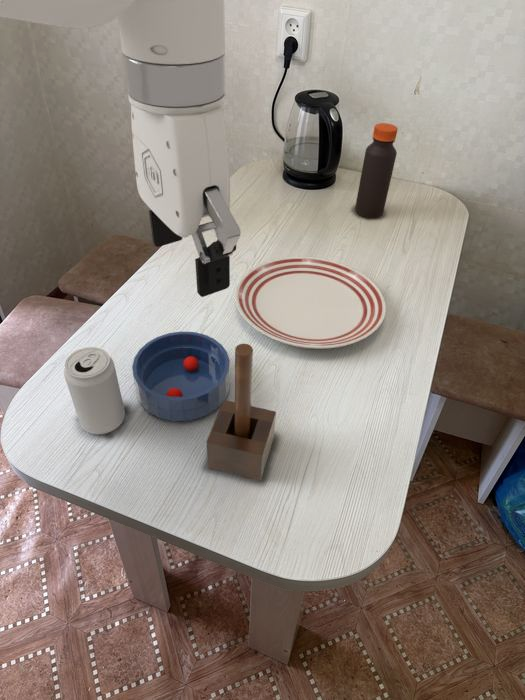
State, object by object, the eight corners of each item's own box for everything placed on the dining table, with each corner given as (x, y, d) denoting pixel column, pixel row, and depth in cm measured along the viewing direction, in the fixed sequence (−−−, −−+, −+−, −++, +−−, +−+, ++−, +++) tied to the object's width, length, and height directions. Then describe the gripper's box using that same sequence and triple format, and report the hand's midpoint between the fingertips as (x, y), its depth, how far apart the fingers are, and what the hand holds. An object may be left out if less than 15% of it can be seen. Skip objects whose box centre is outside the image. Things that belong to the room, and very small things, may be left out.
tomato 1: (164, 405, 75) (162, 394, 73) (170, 393, 77) (169, 383, 75) (179, 409, 74) (178, 398, 73) (185, 397, 76) (184, 386, 75)
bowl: (121, 412, 75) (115, 387, 71) (159, 348, 85) (155, 323, 81) (212, 434, 72) (211, 409, 69) (240, 366, 82) (240, 341, 79)
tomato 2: (181, 372, 80) (180, 362, 78) (187, 362, 81) (186, 351, 80) (196, 375, 79) (195, 365, 78) (201, 365, 81) (200, 354, 79)
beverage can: (71, 428, 72) (50, 370, 64) (98, 397, 76) (81, 339, 68) (109, 443, 71) (93, 385, 62) (134, 410, 75) (122, 352, 67)
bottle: (350, 213, 121) (365, 128, 107) (361, 202, 125) (377, 119, 111) (376, 222, 118) (395, 135, 105) (387, 210, 123) (406, 126, 109)
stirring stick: (232, 456, 70) (232, 353, 56) (236, 445, 71) (238, 341, 57) (246, 460, 69) (250, 357, 56) (250, 448, 71) (254, 345, 57)
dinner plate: (263, 255, 106) (264, 241, 104) (393, 285, 100) (397, 271, 98) (210, 336, 87) (210, 322, 85) (366, 379, 81) (370, 365, 79)
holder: (207, 468, 68) (206, 442, 64) (224, 426, 74) (223, 399, 69) (260, 481, 67) (262, 455, 63) (273, 438, 72) (276, 411, 68)
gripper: (89, 55, 42) (121, 235, 54) (183, 124, 32) (197, 327, 44) (170, 46, 45) (184, 218, 57) (280, 106, 35) (268, 300, 47)
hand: (189, 265), depth 50 cm, fingers open, 9 cm apart
